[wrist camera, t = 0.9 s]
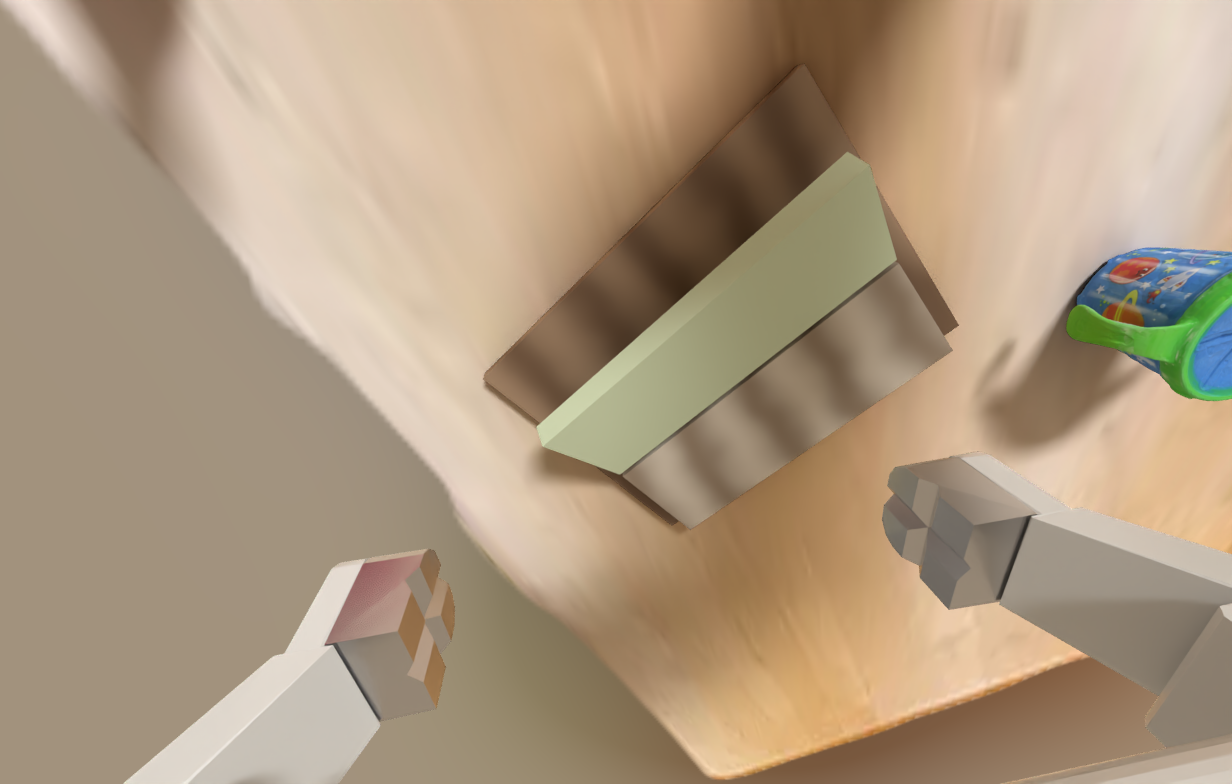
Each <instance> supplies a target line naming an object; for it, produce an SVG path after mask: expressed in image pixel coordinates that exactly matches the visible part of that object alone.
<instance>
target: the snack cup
mask: <svg viewBox="0 0 1232 784" xmlns="http://www.w3.org/2000/svg"><path fill="white" fill-rule="evenodd" d="M1066 330H1067V333H1068V335H1069V336H1070V337H1071V338H1073V339H1075V340H1078V341H1082V342H1087V343H1092V344H1097V345H1101V346H1106V347H1110V348H1115V349H1117V350H1119V351H1121V352H1123V353H1125V354H1127V355H1128V356H1129V357H1130V358H1132V359H1133V360H1136V361H1138V362H1139V363H1140V364H1142V365H1143V366H1145V367H1147V368H1148V369H1150V370H1152V371H1154V372H1156V373H1158V374H1160V376H1161V377H1162V378H1163V379H1164V380H1165V381H1166V382H1167V383H1168V384H1169V385H1170V387H1171V389H1172V390H1174V391H1175V392H1176V393H1178V394H1180V395H1182V396H1184V397H1187V398H1189V399H1192V398H1196V399H1200V400H1205V401H1222V400H1228V399H1232V252H1226V251H1211V250H1194V249H1179V248H1142V249H1137V250H1134V251H1131V252H1128V253H1126V254H1123V255H1118V256H1116V257H1114V258H1112V259H1110V260H1108V262H1107V264H1106V265H1105V266H1104V267H1103V268H1101V269H1100V270H1099V271H1098V272H1097V273H1096V274H1095V275H1094V276H1093V277H1092V279H1091V280H1090V281H1089V283H1088V284H1087V285H1086V287H1085V288H1084V290H1083V291H1082V293H1081V294H1080V295H1078V297H1077V306H1075V307H1074V308H1073V309H1072V310H1071V312H1070V313H1069V317H1068V320H1067V324H1066Z"/></svg>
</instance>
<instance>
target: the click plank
mask: <svg viewBox="0 0 1232 784" xmlns="http://www.w3.org/2000/svg"><path fill="white" fill-rule="evenodd" d="M896 260H897V258H896V254H895V251H894V247H893V244H892V240H891V237H890V233H889V230H888V226H887V223H886V219H885V216H884V212H883V209H882V205H881V202H880V198H879V195H878V191H877V188H876V184H875V181H874V177H873V174H872V171H871V167H870V165H869V164H867V163H866V162H864V161H862V160H861V159H859V158H857V157H856V156H854V155H852V154H851V153H849V152H846V153H845V154H844V155H843V156H842V157H841V158H840V159H839V160H837V161H836V162H835V163H834V164H833V165H832V166H831V167H830V168H828V169H827V170H826V171H825V172H824V173H823V174H822V175H820V176H819V177H818V178H817V179H816V180H815V181H814V182H813V183H811V184H810V185H809V186H808V187H807V188H806V189H805V190H804V191H802V192H801V193H800V194H799V195H798V196H797V197H796V198H794V199H793V200H792V201H791V202H790V203H789V204H788V205H787V206H785V207H784V208H783V209H782V210H781V211H780V212H779V213H778V214H776V215H775V216H774V217H773V218H772V219H771V220H770V221H768V222H767V223H766V224H765V225H764V226H763V227H762V228H761V229H759V230H758V231H757V232H756V233H755V234H754V235H753V236H752V237H750V238H749V239H748V240H747V241H746V242H745V243H744V244H742V245H741V246H740V247H739V248H738V249H737V250H736V251H735V252H733V253H732V254H731V255H730V256H729V257H728V258H727V259H726V260H724V261H723V262H722V263H721V264H720V265H719V266H718V267H716V268H715V269H714V270H713V271H712V272H711V273H710V274H709V275H707V276H706V277H705V278H704V279H703V280H702V281H701V282H700V283H698V284H697V285H696V286H695V287H694V288H693V289H692V290H690V291H689V292H688V293H687V294H686V295H685V296H684V297H683V298H681V299H680V300H679V301H678V302H677V303H676V304H675V305H674V306H672V307H671V308H670V309H669V310H668V311H667V312H666V313H664V314H663V315H662V316H661V317H660V318H659V319H658V320H657V321H655V322H654V323H653V324H652V325H651V326H650V327H649V328H648V329H646V330H645V331H644V332H643V333H642V334H641V335H640V336H638V337H637V338H636V339H635V340H634V341H633V342H632V343H631V344H629V345H628V346H627V347H626V348H625V349H624V350H623V351H622V352H620V353H619V354H618V355H617V356H616V357H615V358H614V359H612V360H611V361H610V362H609V363H608V364H607V365H606V366H605V367H603V368H602V369H601V370H600V371H599V372H598V373H597V374H596V375H594V376H593V377H592V378H591V379H590V380H589V381H588V382H586V383H585V384H584V385H583V386H582V387H581V388H580V389H579V390H577V391H576V392H575V393H574V394H573V395H572V396H571V397H570V398H568V399H567V400H566V401H565V402H564V403H563V404H562V405H560V406H559V407H558V408H557V409H556V410H555V411H554V412H553V413H551V414H550V415H549V416H548V417H547V418H546V419H545V420H544V421H542V422H541V423H540V424H539V425H538V426H537V431H538V434H539V437H540V440H541V443H542V446H543V447H545V448H548V449H550V450H553V451H556V452H559V453H562V454H564V455H567V456H570V457H573V458H575V459H578V460H581V461H584V462H586V463H589V464H592V465H595V466H597V467H600V468H603V469H606V470H608V471H611V472H614V473H617V474H622V473H623V472H624V471H625V470H627V469H628V468H629V467H631V466H632V465H633V464H634V463H636V462H637V461H638V460H640V459H641V458H642V457H643V456H645V455H646V454H647V453H649V452H650V451H651V450H652V449H654V448H655V447H656V446H658V445H659V444H660V443H661V442H663V441H664V440H665V439H667V438H668V437H669V436H670V435H672V434H673V433H674V432H676V431H677V430H678V429H679V428H681V427H682V426H683V425H685V424H686V423H687V422H689V421H690V420H691V419H692V418H694V417H695V416H696V415H698V414H699V413H700V412H701V411H703V410H704V409H705V408H707V407H708V406H709V405H710V404H712V403H713V402H714V401H716V400H717V399H718V398H719V397H721V396H722V395H723V394H725V393H726V392H727V391H728V390H730V389H731V388H732V387H734V386H735V385H736V384H737V383H739V382H740V381H741V380H743V379H744V378H745V377H747V376H748V375H749V374H750V373H752V372H753V371H754V370H756V369H757V368H758V367H759V366H761V365H762V364H763V363H765V362H766V361H767V360H768V359H770V358H771V357H772V356H774V355H775V354H776V353H777V352H779V351H780V350H781V349H783V348H784V347H785V346H786V345H788V344H789V343H790V342H792V341H793V340H794V339H795V338H797V337H798V336H799V335H801V334H802V333H803V332H804V331H806V330H807V329H808V328H810V327H811V326H812V325H814V324H815V323H816V322H817V321H819V320H820V319H821V318H823V317H824V316H825V315H826V314H828V313H829V312H830V311H832V310H833V309H834V308H835V307H837V306H838V305H839V304H841V303H842V302H843V301H844V300H846V299H847V298H848V297H850V296H851V295H852V294H853V293H855V292H856V291H857V290H859V289H860V288H861V287H862V286H864V285H865V284H866V283H868V282H869V281H870V280H871V279H873V278H874V277H875V276H877V275H878V274H879V273H881V272H882V271H883V270H884V269H886V268H887V267H888V266H890V265H891V264H892V263H893V262H895V261H896Z"/></svg>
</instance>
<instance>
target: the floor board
mask: <svg viewBox="0 0 1232 784" xmlns="http://www.w3.org/2000/svg"><path fill="white" fill-rule="evenodd" d="M846 152H849V153H851V154H852V155H854V156H856V157H857V158H859V159H860V157H859V155H858V154H857V152H856V150H855V148H854V147H853V145H852V143H851V142H850V140H849V138H848V137H847V135H846V133H845V131H844V130H843V128H842V126H841V125H840V123H839V121H838V120H837V118H836V116H835V115H834V113H833V111H832V109H831V108H830V106H829V104H828V103H827V101H826V99H825V98H824V96H823V94H822V92H821V91H820V89H819V87H818V86H817V84H816V82H815V81H814V79H813V77H812V76H811V74H810V72H809V70H808V69H807V67H806V65H805V64H801V65H798V66H796V67H795V68H794V69H793V70H792V71H791V72H790V73H789V74H788V75H787V76H786V77H785V78H784V79H783V80H782V81H781V82H780V83H779V84H778V85H777V86H776V87H775V88H774V89H773V90H772V91H771V92H770V93H769V94H768V95H767V96H766V97H765V98H764V99H763V100H762V101H761V102H760V103H759V104H758V105H757V106H756V107H755V108H753V109H752V110H751V111H750V112H749V113H748V114H747V115H746V116H745V117H744V118H743V119H742V120H741V121H740V122H739V123H738V124H737V125H736V126H735V127H734V128H733V129H732V130H731V131H730V132H729V133H728V134H727V135H726V136H725V137H724V138H723V139H722V140H721V141H720V142H719V143H718V144H717V145H716V146H715V147H714V148H713V149H712V150H711V151H710V152H709V153H708V154H707V155H706V156H705V157H704V158H703V159H702V160H701V161H700V162H699V163H698V164H697V165H696V166H695V167H694V168H693V169H692V170H691V171H690V172H689V173H688V174H686V175H685V176H684V177H683V178H682V179H681V180H680V181H679V182H678V183H677V184H676V185H675V186H674V187H673V188H672V189H671V190H670V191H669V192H668V193H667V194H666V195H665V196H664V197H663V198H662V199H661V200H660V201H659V202H658V203H657V204H656V205H655V206H654V207H653V208H652V209H651V210H650V211H649V212H648V213H647V214H646V215H645V216H644V217H643V218H642V219H641V220H640V221H639V222H638V223H637V224H636V225H635V226H634V227H633V228H632V229H631V230H630V231H629V232H628V233H627V234H626V235H625V236H624V237H623V238H622V239H621V240H620V241H618V242H617V243H616V244H615V245H614V246H613V247H612V248H611V249H610V250H609V251H608V252H607V253H606V254H605V255H604V256H603V257H602V258H601V259H600V260H599V261H598V262H597V263H596V264H595V265H594V266H593V267H592V268H591V269H590V270H589V271H588V272H587V273H586V274H585V275H584V276H583V277H582V278H581V279H580V280H579V281H578V282H577V283H576V284H575V285H574V286H573V287H572V288H571V289H570V290H569V291H568V292H567V293H566V294H565V295H564V296H563V297H562V298H561V299H560V300H559V301H558V302H557V303H556V304H555V305H554V306H553V307H552V308H550V309H549V310H548V311H547V312H546V313H545V314H544V315H543V316H542V317H541V318H540V319H539V320H538V321H537V322H536V323H535V324H534V325H533V326H532V327H531V328H530V329H529V330H528V331H527V332H526V333H525V334H524V335H523V336H522V337H521V338H520V339H519V340H518V341H517V342H516V343H515V344H514V345H513V346H512V347H511V348H510V349H509V350H508V351H507V352H506V353H505V354H504V355H503V356H502V357H501V358H500V359H499V360H498V361H497V362H496V363H495V364H494V365H493V366H492V367H491V368H490V369H489V370H488V371H487V372H486V373H485V375H484V378H483V380H485V381H486V382H487V383H489V384H490V385H491V386H493V387H494V388H495V389H496V390H498V391H499V392H500V393H502V394H503V395H504V396H505V397H507V398H508V399H509V400H511V401H512V402H513V403H514V404H516V405H517V406H518V407H520V408H521V409H522V410H523V411H525V412H526V413H527V414H529V415H530V416H531V417H532V418H534V419H535V420H536V421H538V422H539V423H541V422H542V421H544V420H545V419H546V418H547V417H548V416H549V415H550V414H551V413H553V412H554V411H555V410H556V409H557V408H558V407H559V406H560V405H562V404H563V403H564V402H565V401H566V400H567V399H568V398H570V397H571V396H572V395H573V394H574V393H575V392H576V391H577V390H579V389H580V388H581V387H582V386H583V385H584V384H585V383H586V382H588V381H589V380H590V379H591V378H592V377H593V376H594V375H596V374H597V373H598V372H599V371H600V370H601V369H602V368H603V367H605V366H606V365H607V364H608V363H609V362H610V361H611V360H612V359H614V358H615V357H616V356H617V355H618V354H619V353H620V352H622V351H623V350H624V349H625V348H626V347H627V346H628V345H629V344H631V343H632V342H633V341H634V340H635V339H636V338H637V337H638V336H640V335H641V334H642V333H643V332H644V331H645V330H646V329H648V328H649V327H650V326H651V325H652V324H653V323H654V322H655V321H657V320H658V319H659V318H660V317H661V316H662V315H663V314H664V313H666V312H667V311H668V310H669V309H670V308H671V307H672V306H674V305H675V304H676V303H677V302H678V301H679V300H680V299H681V298H683V297H684V296H685V295H686V294H687V293H688V292H689V291H690V290H692V289H693V288H694V287H695V286H696V285H697V284H698V283H700V282H701V281H702V280H703V279H704V278H705V277H706V276H707V275H709V274H710V273H711V272H712V271H713V270H714V269H715V268H716V267H718V266H719V265H720V264H721V263H722V262H723V261H724V260H726V259H727V258H728V257H729V256H730V255H731V254H732V253H733V252H735V251H736V250H737V249H738V248H739V247H740V246H741V245H742V244H744V243H745V242H746V241H747V240H748V239H749V238H750V237H752V236H753V235H754V234H755V233H756V232H757V231H758V230H759V229H761V228H762V227H763V226H764V225H765V224H766V223H767V222H768V221H770V220H771V219H772V218H773V217H774V216H775V215H776V214H778V213H779V212H780V211H781V210H782V209H783V208H784V207H785V206H787V205H788V204H789V203H790V202H791V201H792V200H793V199H794V198H796V197H797V196H798V195H799V194H800V193H801V192H802V191H804V190H805V189H806V188H807V187H808V186H809V185H810V184H811V183H813V182H814V181H815V180H816V179H817V178H818V177H819V176H820V175H822V174H823V173H824V172H825V171H826V170H827V169H828V168H830V167H831V166H832V165H833V164H834V163H835V162H836V161H837V160H839V159H840V158H841V157H842V156H843V155H844V154H845V153H846ZM876 188H877V191H878V195H879V198H880V202H881V205H882V209H883V212H884V216H885V219H886V223H887V226H888V230H889V233H890V237H891V240H892V244H893V247H894V251H895V254H896V258H897V260H896V261H895V262H893V263H892V264H891V265H890V266H888V267H887V268H886V269H884V270H883V271H882V272H881V273H879V274H878V275H877V276H875V277H874V278H873V279H871V280H870V281H869V282H868V283H866V284H865V285H864V286H862V287H861V288H860V289H859V290H857V291H856V292H855V293H853V294H852V295H851V296H850V297H848V298H847V299H846V300H844V301H843V302H842V303H841V304H839V305H838V306H837V307H835V308H834V309H833V310H832V311H830V312H829V313H828V314H826V315H825V316H824V317H823V318H821V319H820V320H819V321H817V322H816V323H815V324H814V325H812V326H811V327H810V328H808V329H807V330H806V331H804V332H803V333H802V334H801V335H799V336H798V337H797V338H795V339H794V340H793V341H792V342H790V343H789V344H788V345H786V346H785V347H784V348H783V349H781V350H780V351H779V352H777V353H776V354H775V355H774V356H772V357H771V358H770V359H768V360H767V361H766V362H765V363H763V364H762V365H761V366H759V367H758V368H757V369H756V370H754V371H753V372H752V373H750V374H749V375H748V376H747V377H745V378H744V379H743V380H741V381H740V382H739V383H737V384H736V385H735V386H734V387H732V388H731V389H730V390H728V391H727V392H726V393H725V394H723V395H722V396H721V397H719V398H718V399H717V400H716V401H714V402H713V403H712V404H710V405H709V406H708V407H707V408H705V409H704V410H703V411H701V412H700V413H699V414H698V415H696V416H695V417H694V418H692V419H691V420H690V421H689V422H687V423H686V424H685V425H683V426H682V427H681V428H679V429H678V430H677V431H676V432H674V433H673V434H672V435H670V436H669V437H668V438H667V439H665V440H664V441H663V442H661V443H660V444H659V445H658V446H656V447H655V448H654V449H652V450H651V451H650V452H649V453H647V454H646V455H645V456H643V457H642V458H641V459H640V460H638V461H637V462H636V463H634V464H633V465H632V466H631V467H629V468H628V469H627V470H625V471H624V472H623V473H622V474H617V473H614V472H611V471H608V470H606V469H603V468H600V467H597V466H596V467H597V468H598V469H600V470H601V471H602V472H603V473H605V474H606V475H607V476H609V477H610V478H611V479H612V480H614V481H615V482H616V483H618V484H619V485H620V486H621V487H623V488H624V489H625V490H627V491H628V492H629V493H630V494H632V495H633V496H634V497H636V498H637V499H638V500H639V501H641V502H642V503H643V504H645V505H646V506H647V507H649V508H650V509H651V510H652V511H654V512H655V513H656V514H658V515H659V516H660V517H661V518H663V519H664V520H665V521H667V522H668V523H669V524H670V525H674V524H675V523H677V522H678V521H680V522H681V523H682V524H684V525H685V526H686V527H687V528H689V529H690V530H691V529H693V528H694V527H695V526H697V525H698V524H700V523H701V522H703V521H704V520H706V519H707V518H709V517H710V516H712V515H713V514H714V513H716V512H717V511H719V510H720V509H722V508H723V507H725V506H726V505H728V504H729V503H731V502H732V501H733V500H735V499H736V498H738V497H739V496H741V495H742V494H744V493H745V492H747V491H748V490H750V489H751V488H753V487H754V486H755V485H757V484H758V483H760V482H761V481H763V480H764V479H766V478H767V477H769V476H770V475H772V474H773V473H774V472H776V471H777V470H779V469H780V468H782V467H783V466H785V465H786V464H788V463H789V462H791V461H792V460H793V459H795V458H796V457H798V456H799V455H801V454H802V453H804V452H805V451H807V450H808V449H810V448H811V447H812V446H814V445H815V444H817V443H818V442H820V441H821V440H823V439H824V438H826V437H827V436H829V435H830V434H831V433H833V432H834V431H836V430H837V429H839V428H840V427H842V426H843V425H845V424H846V423H848V422H849V421H850V420H852V419H853V418H855V417H856V416H858V415H859V414H861V413H862V412H864V411H865V410H867V409H868V408H869V407H871V406H872V405H874V404H875V403H877V402H878V401H880V400H881V399H883V398H884V397H886V396H887V395H889V394H890V393H891V392H893V391H894V390H896V389H897V388H899V387H900V386H902V385H903V384H905V383H906V382H908V381H909V380H910V379H912V378H913V377H915V376H916V375H918V374H919V373H921V372H922V371H924V370H925V369H927V368H928V367H929V366H931V365H932V364H934V363H935V362H937V361H938V360H940V359H941V358H943V357H944V356H946V355H947V354H948V353H950V352H951V351H953V350H952V348H951V347H950V345H949V343H948V342H947V340H946V339H945V337H944V335H946V334H947V333H949V332H950V331H952V330H953V329H954V328H956V327H957V326H959V325H958V323H957V321H956V320H955V318H954V316H953V315H952V313H951V311H950V310H949V308H948V306H947V304H946V303H945V301H944V299H943V298H942V296H941V294H940V293H939V291H938V289H937V287H936V286H935V284H934V282H933V281H932V279H931V277H930V276H929V274H928V272H927V271H926V269H925V267H924V265H923V264H922V262H921V260H920V259H919V257H918V255H917V254H916V252H915V250H914V248H913V247H912V245H911V243H910V242H909V240H908V238H907V237H906V235H905V233H904V232H903V230H902V228H901V226H900V225H899V223H898V221H897V220H896V218H895V216H894V215H893V213H892V211H891V209H890V208H889V206H888V204H887V203H886V201H885V199H884V198H883V196H882V194H881V193H880V191H879V189H878V187H877V186H876ZM594 466H595V465H594Z"/></svg>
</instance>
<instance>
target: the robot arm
mask: <svg viewBox="0 0 1232 784" xmlns="http://www.w3.org/2000/svg"><path fill="white" fill-rule="evenodd" d="M888 487H889V488H890V490H891V491H892V492H893V493H894V494H893V496H892V497H891V498H890V499H889V500H888V501H887V502H886V504H885V505H884V509H883V517H882V521H883V525H884V529H885V533H886V536H887V538H888V539H889V541H890V543H891V545H892V546H893V548H894V549H895V550H896V551H897V552H898V553H899V555H900V556H901V557H902V558H904V559H906V560H909V561H911V562H913V563H915V564H917V565H919V573H920V578H921V579H922V581H923V582H924V583H925V584H926V585H927V586H928V587H929V588H930V589H931V591H932V592H933V593H934V594H935V595H936V596H937V597H938V598H939V599H940V601H941V602H942V603H943V604H944V605H945V606H946V607H947V608H948V610H951V609H957V608H963V607H969V606H975V605H982V604H988V603H994V602H1000V604H999V605H1001V606H1003V607H1005V608H1006V609H1008V610H1010V611H1012V612H1013V613H1015V614H1017V615H1019V616H1020V617H1022V618H1024V619H1025V620H1027V621H1029V622H1031V623H1032V624H1034V625H1036V626H1038V627H1039V628H1041V629H1043V630H1045V631H1046V632H1048V633H1050V634H1052V635H1053V636H1055V637H1057V638H1058V639H1060V640H1062V641H1064V642H1065V643H1067V644H1069V645H1071V646H1072V647H1074V648H1076V649H1078V650H1079V651H1081V652H1083V653H1085V654H1086V655H1088V656H1090V657H1092V658H1093V659H1095V660H1097V661H1099V662H1100V663H1102V664H1104V665H1105V666H1107V667H1109V668H1111V669H1112V670H1114V671H1116V672H1118V673H1119V674H1121V675H1123V676H1125V677H1126V678H1128V679H1130V680H1132V681H1133V682H1135V683H1137V684H1138V685H1140V686H1142V687H1144V688H1146V689H1147V690H1149V691H1151V692H1152V693H1154V694H1156V695H1158V696H1159V697H1158V698H1157V700H1156V701H1155V703H1154V704H1153V706H1152V707H1151V709H1150V710H1149V711H1148V713H1147V714H1146V716H1145V724H1146V728H1147V729H1148V730H1149V731H1150V732H1151V733H1152V734H1153V735H1154V736H1155V737H1156V738H1157V739H1158V740H1159V741H1160V742H1161V743H1162V744H1163V745H1164V746H1165V747H1166V748H1164V749H1159V750H1155V751H1151V752H1145V753H1141V754H1136V755H1132V756H1127V757H1123V758H1118V759H1113V760H1109V761H1104V762H1099V763H1094V764H1090V765H1085V766H1081V767H1076V768H1071V769H1067V770H1062V771H1058V772H1053V773H1048V774H1044V775H1039V776H1034V777H1030V778H1026V779H1021V780H1016V781H1011V782H1006V783H1002V784H1232V554H1229V553H1226V552H1223V551H1219V550H1216V549H1213V548H1210V547H1206V546H1203V545H1200V544H1197V543H1194V542H1190V541H1187V540H1184V539H1181V538H1178V537H1174V536H1171V535H1168V534H1165V533H1162V532H1158V531H1155V530H1152V529H1149V528H1145V527H1142V526H1139V525H1136V524H1133V523H1129V522H1126V521H1123V520H1120V519H1117V518H1113V517H1110V516H1107V515H1104V514H1101V513H1097V512H1094V511H1091V510H1088V509H1084V508H1075V509H1071V508H1070V507H1068V506H1067V505H1065V504H1064V503H1062V502H1061V501H1059V500H1058V499H1056V498H1054V497H1053V496H1051V495H1050V494H1048V493H1047V492H1045V491H1044V490H1042V489H1041V488H1039V487H1038V486H1036V485H1035V484H1033V483H1032V482H1030V481H1029V480H1027V479H1026V478H1024V477H1023V476H1021V475H1020V474H1018V473H1017V472H1015V471H1014V470H1012V469H1010V468H1009V467H1007V466H1006V465H1004V464H1003V463H1001V462H1000V461H998V460H997V459H995V458H994V457H992V456H991V455H989V454H986V453H982V452H979V451H977V452H971V453H966V454H961V455H956V456H951V457H949V458H943V459H937V460H932V461H926V462H921V463H915V464H910V465H904V466H899V467H895V468H894V469H893V471H892V472H891V473H890V476H889V481H888ZM440 567H441V564H440V561H439V559H438V557H437V555H436V552H435V551H434V550H431V549H424V550H417V551H410V552H404V553H397V554H390V555H384V556H377V557H371V558H369V559H361V560H355V561H348V562H341V563H339V564H338V565H336V566H335V567H333V568H332V569H331V571H330V572H329V574H328V576H327V578H326V580H325V582H324V583H323V585H322V587H321V589H320V591H319V592H318V594H317V596H316V598H315V599H314V601H313V603H312V605H311V607H310V608H309V610H308V612H307V614H306V616H305V617H304V619H303V621H302V623H301V625H300V627H299V628H298V630H297V632H296V634H295V635H294V637H293V639H292V641H291V643H290V644H289V646H288V648H287V650H286V652H285V653H284V654H281V655H276V656H273V657H272V658H271V659H269V660H268V661H267V662H266V663H265V664H264V665H262V666H261V667H260V668H259V669H258V670H256V671H255V672H254V673H253V674H252V675H251V676H249V677H248V678H247V679H246V680H245V681H244V682H243V683H241V684H240V685H239V686H238V687H236V689H234V690H233V691H232V692H231V693H229V694H228V695H227V696H226V697H225V698H224V699H222V700H221V701H220V702H219V703H218V704H216V705H215V706H214V707H213V708H212V709H211V710H209V711H208V712H207V713H206V714H205V715H204V716H202V717H201V718H200V719H199V720H198V721H196V722H195V723H194V724H193V725H192V726H191V727H189V728H188V729H187V730H186V731H185V732H184V733H183V734H181V735H180V736H179V737H178V738H176V739H175V740H174V741H173V742H172V743H170V745H168V746H167V747H166V748H165V749H163V750H162V751H161V752H160V753H159V754H158V755H156V756H155V757H154V758H153V759H152V760H151V761H149V762H148V763H147V764H146V765H145V766H143V768H141V769H140V770H139V771H138V772H136V773H135V774H134V775H133V776H132V777H131V778H129V779H128V780H127V781H126V782H125V783H124V784H338V783H339V782H340V781H341V779H342V778H343V777H344V775H345V774H346V772H347V771H348V770H349V768H350V767H351V765H352V764H353V763H354V761H355V760H356V759H357V757H358V756H359V754H360V753H361V752H362V750H363V749H364V748H365V746H366V745H367V743H368V742H369V740H370V739H371V738H372V736H373V735H374V734H375V732H376V731H377V730H378V728H379V727H380V721H384V720H389V719H394V718H398V717H403V716H407V715H411V714H416V713H420V712H425V711H429V710H434V709H436V708H437V704H438V700H439V695H440V691H441V686H442V682H443V677H444V672H445V668H446V666H445V664H444V662H443V659H442V657H441V655H440V654H441V652H442V651H443V650H444V649H445V648H446V647H447V645H448V644H449V643H450V642H451V640H452V635H453V630H454V622H455V618H454V617H455V606H454V600H453V595H452V592H451V589H450V587H449V584H448V583H447V582H445V581H444V580H442V579H440V578H439V577H438V574H439V570H440Z"/></svg>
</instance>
